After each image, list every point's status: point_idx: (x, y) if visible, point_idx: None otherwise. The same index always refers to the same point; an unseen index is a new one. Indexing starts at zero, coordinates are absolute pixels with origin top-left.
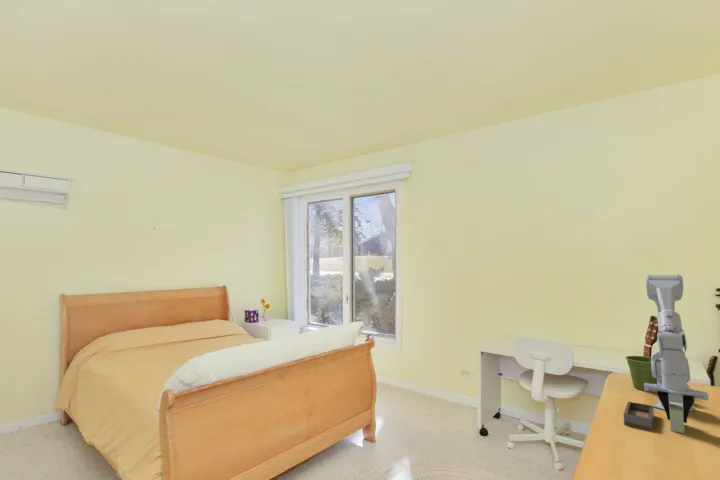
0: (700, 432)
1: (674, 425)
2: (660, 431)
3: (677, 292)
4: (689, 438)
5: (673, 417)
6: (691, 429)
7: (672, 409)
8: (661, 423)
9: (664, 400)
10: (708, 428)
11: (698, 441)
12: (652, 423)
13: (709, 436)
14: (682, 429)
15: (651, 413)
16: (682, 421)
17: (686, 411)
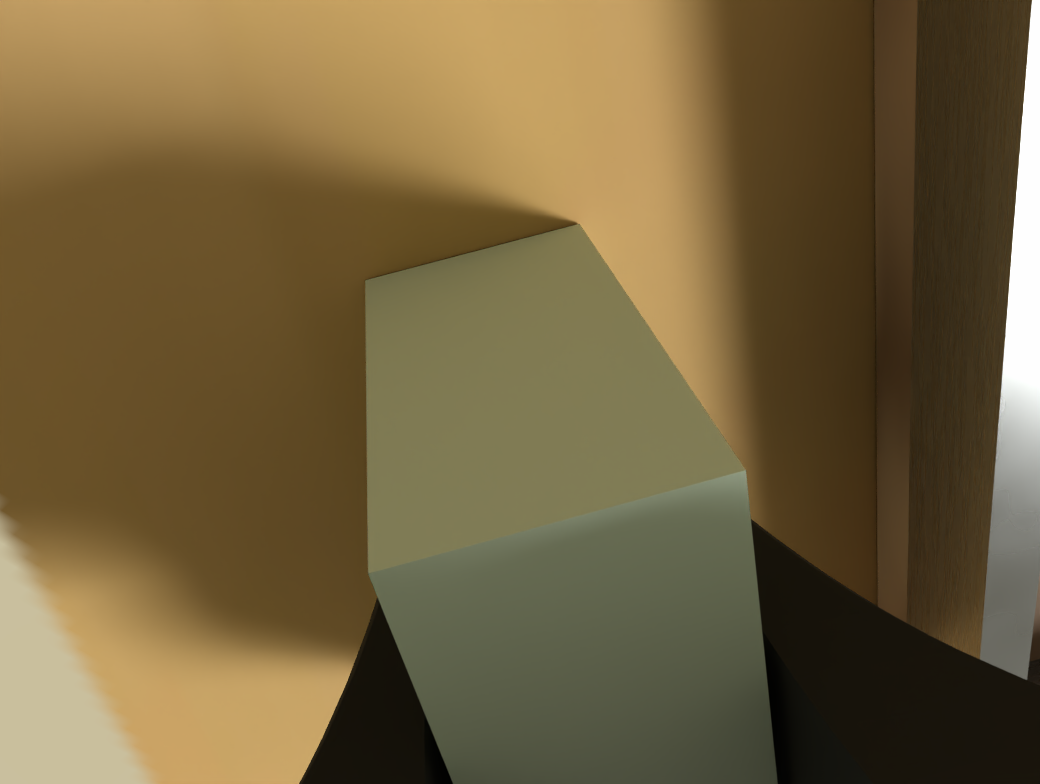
0: (215, 551)
1: (536, 290)
2: (723, 2)
3: None
4: (201, 58)
5: (584, 370)
6: (356, 570)
7: (662, 517)
8: (760, 467)
9: (1005, 762)
10: (216, 780)
11: (9, 16)
12: (895, 254)
13: (43, 486)
14: (393, 299)
15: (1012, 418)
16: (389, 387)
17: (363, 747)
